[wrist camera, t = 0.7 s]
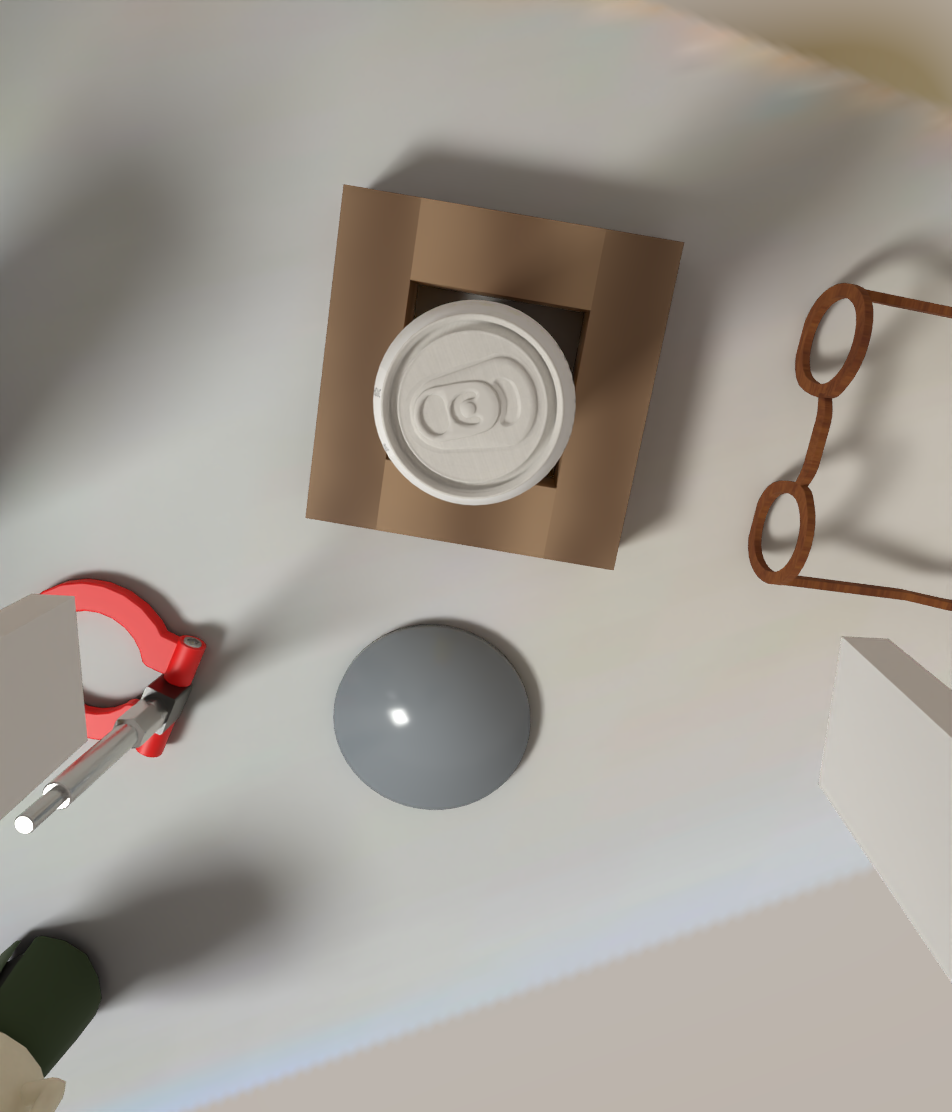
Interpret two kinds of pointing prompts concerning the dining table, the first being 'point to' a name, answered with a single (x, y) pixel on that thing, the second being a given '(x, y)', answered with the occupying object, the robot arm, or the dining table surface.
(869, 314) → the glasses
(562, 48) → the dining table surface
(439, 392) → the beer can
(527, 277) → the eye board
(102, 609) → the tow hook
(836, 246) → the dining table surface
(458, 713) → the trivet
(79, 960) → the character mug
